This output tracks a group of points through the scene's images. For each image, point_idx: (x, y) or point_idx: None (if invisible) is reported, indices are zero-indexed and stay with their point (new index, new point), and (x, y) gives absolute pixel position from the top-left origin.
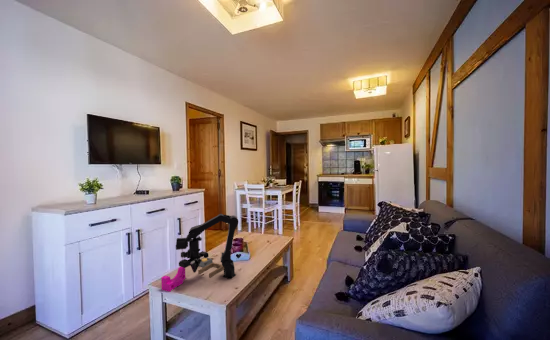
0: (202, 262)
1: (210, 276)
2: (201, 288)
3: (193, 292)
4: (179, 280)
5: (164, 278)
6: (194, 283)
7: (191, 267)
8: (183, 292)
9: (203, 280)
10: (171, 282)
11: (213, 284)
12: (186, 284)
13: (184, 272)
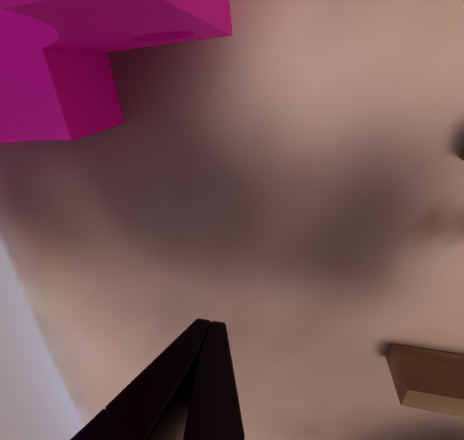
0: None
1: (392, 371)
2: None
3: (87, 352)
4: (15, 128)
5: None
6: (195, 271)
7: (92, 423)
8: (28, 280)
9: (295, 322)
10: None
11: (267, 429)
12: (127, 199)
13: (164, 21)
